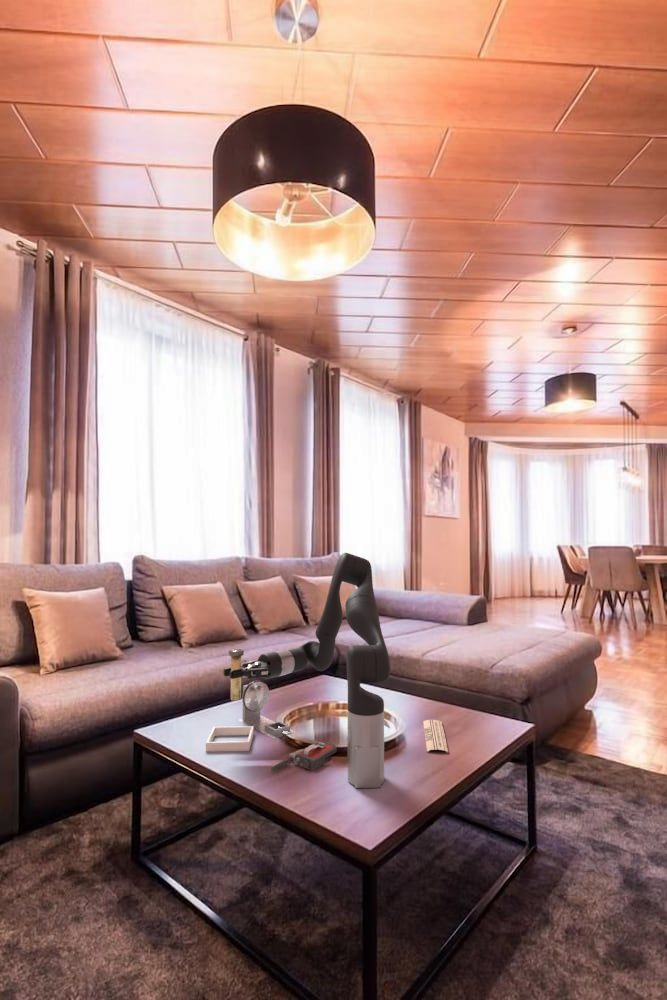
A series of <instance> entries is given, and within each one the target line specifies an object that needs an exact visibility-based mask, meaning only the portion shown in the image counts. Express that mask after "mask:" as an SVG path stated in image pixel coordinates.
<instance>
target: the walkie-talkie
mask: <svg viewBox="0 0 667 1000" xmlns="http://www.w3.org/2000/svg"><path fill="white" fill-rule="evenodd" d="M337 748H338V747H337V745H336V744H333V743H330V742H327V741H325V740H324V741H318V742H317V743H316V744H314V743H313V744H310V745H308V746H307V747H305V748H302V749H301V748H300V749H298V750H296V751H294V752H291V753H289V754H288V757H287V758H286V759H285V760H282V761H280V762H279V763H276V764H275V765H273V766H271V768H270V769H271V771H273V772H274V771H276V770H278V769H280V768H281V767H284V766H285V765H288V764H290V763H293V765H295V766H299V767H301V768H303V769H308V770H311V771H315V770H316V769H317V768H319V767H322V766H323V765H324V764H326V763H328V762H330V761H332V760H333V758H329V757H330V756H332V755H334V754H336V753H337V752H338V751H337V750H338V749H337Z"/></svg>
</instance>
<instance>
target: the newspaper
mask: <svg viewBox="0 0 667 1000" xmlns="http://www.w3.org/2000/svg"><path fill="white" fill-rule="evenodd" d="M422 722H423V730H424V736H425V737H424V738H425V745H426V752H427V753H430V751H434V750H435V751H436V750H439V751H444V752H445V753H446V754H448V753H449V749H448V744H447V739H446V734H445V731H444V726H443V725H444V724H443V722H442V721H440V720H439V719H438V720H437V719H426V720H423V721H422Z"/></svg>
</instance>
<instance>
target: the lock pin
mask: <svg viewBox="0 0 667 1000" xmlns="http://www.w3.org/2000/svg"><path fill="white" fill-rule="evenodd" d="M244 651H245V650H244V649H242V648H232V649H229V650H228V656H229V657H230V667H231V671H232V670H237V669H241V661H242V656H244V655H245V652H244ZM240 700H242V677H239V678H235V679H231V678H230V701H234V702H236V701H240Z"/></svg>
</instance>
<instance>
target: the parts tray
mask: <svg viewBox="0 0 667 1000" xmlns="http://www.w3.org/2000/svg"><path fill="white" fill-rule="evenodd" d="M254 731H255V728H254V726H249V725H247V726H246V725H245V726H244V725H243V726H242V725H239V726H213V727H212V729H211V732H210V733H209V736H208V738H207V740H206V742H205V752H249V751H250V749H251V745H252V741H253V738H254V734H255V732H254ZM216 736H218V737H219V736H248V737H247V741H246V740H244V741H243V740H242V741H241V740H240V741H236V740H235V741H214V739H215V737H216Z"/></svg>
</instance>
